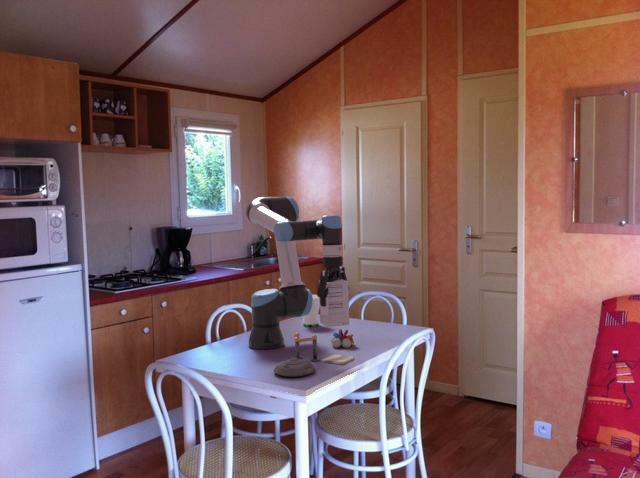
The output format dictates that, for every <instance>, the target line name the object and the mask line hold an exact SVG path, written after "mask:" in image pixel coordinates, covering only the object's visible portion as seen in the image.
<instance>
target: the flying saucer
mask: <svg viewBox="0 0 640 478" xmlns="http://www.w3.org/2000/svg"><path fill="white" fill-rule="evenodd" d="M315 370H316V368H315V366H314V364H312V362H310V361H308V360H305V359H303V358H301V359H298V358H293V357H292V358H289V359H285V360H283V361H280V362H279V363H277V365H276V366H275V367H274V368H273V372H274V373H275V374H277V375H280V376H282V377H289V378H290V377H291V378H292V377H293V378H294V377H296V378H297V377H303V376H307V375H310V374H312V373H313V372H315Z"/></svg>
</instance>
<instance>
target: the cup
mask: <svg viewBox="0 0 640 478" xmlns="http://www.w3.org/2000/svg"><path fill="white" fill-rule="evenodd" d="M312 297H313V304H312V308H311V311H310V313H309V314H308V315H306V316H302V317H303V319H302V324H303V326H304V327H307V328H308V327H310V326H311V327H313V328H314V327H316V326H319V323H320V318H319V312H320V301H319V297H318V296H317V294H312Z"/></svg>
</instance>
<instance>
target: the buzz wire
mask: <svg viewBox="0 0 640 478" xmlns="http://www.w3.org/2000/svg"><path fill="white" fill-rule="evenodd" d="M317 340H318V336H317V335H316V334H314V335H312V336H311V337H307V338H306V337H305V338H300V333H298V332H295V333H294V343H295V345H294V348H295V350H294V351H295V355H293V356H292V358H298V359H303V356H302V355H300V354H301V353H300V351H301V350H300V349H301V347H300V343H304V342H305V343H306V342H312V357H311V358H310V361H311V363H314V362H320V360H321V359H320V358H319V357H318V342H317ZM310 361H309V362H310Z"/></svg>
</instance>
